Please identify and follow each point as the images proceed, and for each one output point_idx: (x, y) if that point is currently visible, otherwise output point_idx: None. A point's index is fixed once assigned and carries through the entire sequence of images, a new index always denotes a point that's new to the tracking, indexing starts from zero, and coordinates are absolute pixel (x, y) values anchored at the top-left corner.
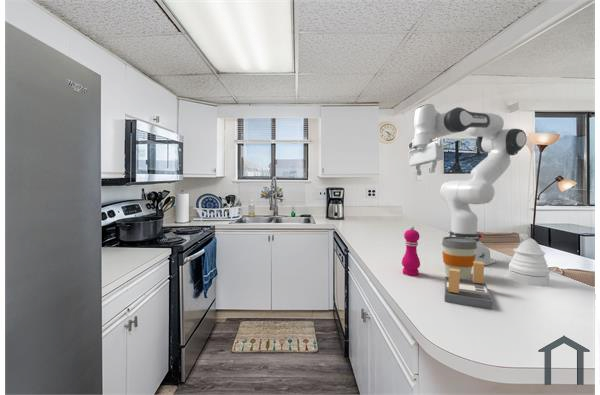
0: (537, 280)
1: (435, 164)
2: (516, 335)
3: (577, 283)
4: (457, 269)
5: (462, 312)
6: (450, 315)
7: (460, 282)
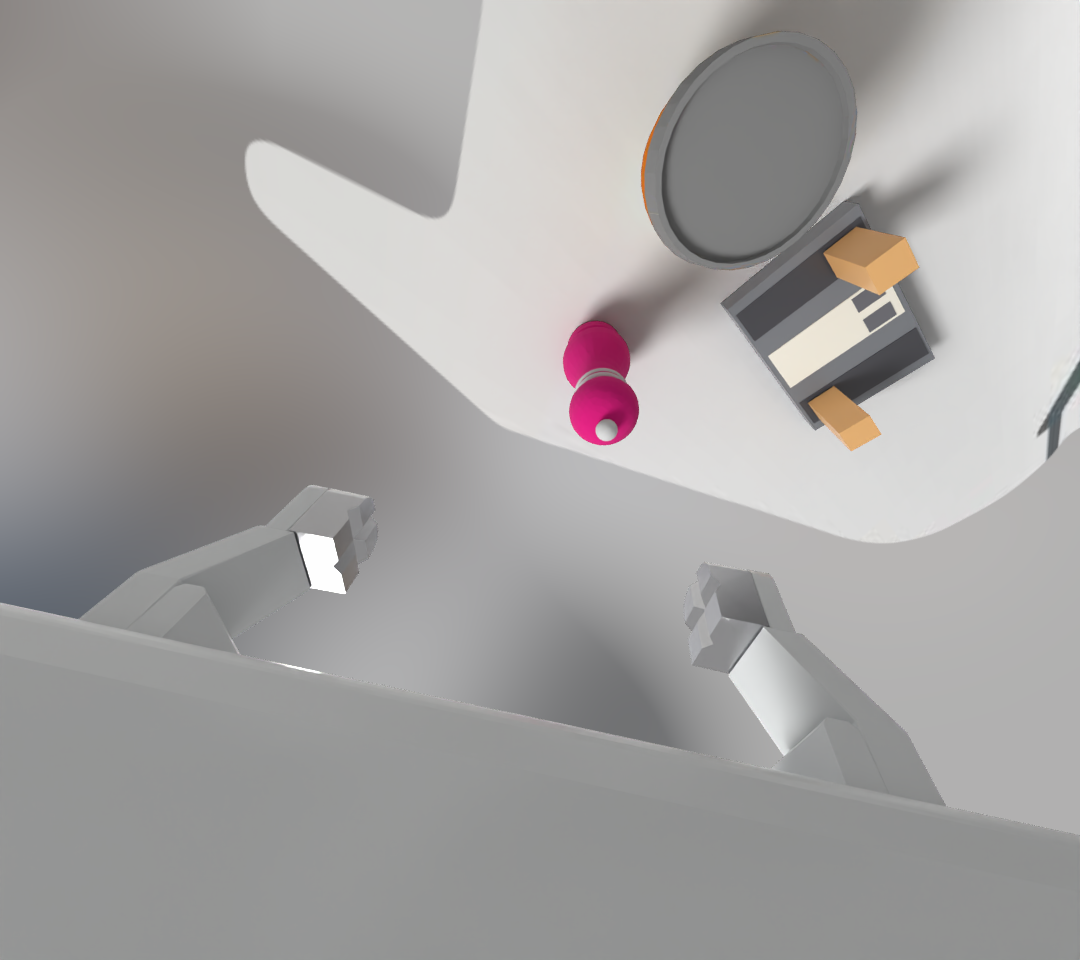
0: None
1: (865, 726)
2: (994, 418)
3: None
4: (866, 423)
5: None
6: (852, 462)
7: (798, 312)
